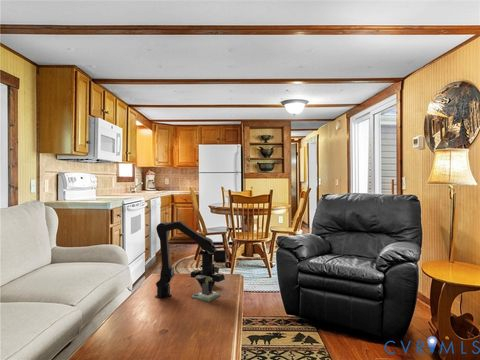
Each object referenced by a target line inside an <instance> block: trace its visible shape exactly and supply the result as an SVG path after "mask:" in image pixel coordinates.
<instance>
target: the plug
mask: <svg viewBox="0 0 480 360" xmlns="http://www.w3.org/2000/svg"><path fill="white" fill-rule="evenodd" d="M201 291H202V294H205V295H210V294H212V293H213V292H214V288H213V289H212V292H211V293H210V292H209V285H208V281H206V282H204V283H202V288H201Z"/></svg>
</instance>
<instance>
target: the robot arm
mask: <svg viewBox="0 0 480 360" xmlns="http://www.w3.org/2000/svg"><path fill="white" fill-rule="evenodd" d="M155 230H156V234H157V237H158V238H159V242H160V243H159V244H160V254H161V255H160V257H161V269H160V276H159V277H160V278H159V279H158V280H157V282H155V286H156V287H157V289H156V290H157V291H156V295H154V297H155V298H159V299H167V298H169V297H171V296H172V295H173V294H171V286H170V284H171V283H170V282H171V281H172V280H173V279H174V277H175V274H176V273H175V266H172V265H171V257H170V256H171V254H170V244H169V236H170V233H171V231H174V230H178V231H180V232H181V233H183V234H184V235H186V236H187V237H188V238H190V239H191V240H193V241H194V242H195V243H196V244H197V245H198V247H200V248H201V249H200V251H199V252H198V253H197V255H199V256H200V255H201V264H200V268H201V269H200V270H199V269H195V270H193V271H191V272H190V274H189V275H190V278H193V279H195V280H196V281H197V282H198V284H199V286H200V288H201V289H202V283H204V282H205V280H206V277H207V278H211V279H210V280H209V281H208V285H209V292H210V293H211V292H212V289H213V290H214V286H215V283H220V282H222V281H224V280H225V275H224V274H222V273H219V271H220V267H217V266H215V263H216V264H227V259H228V255H227V250H226V249H217V248H216V246H215V245H214V241H213V239H211V238H209V237H207V236H204V235H202V234H200V233H198V232H197V231H195V230H194V229H193V228H191V227H190V226H188V225H187V224H186V223H184V222H183V221H181V220H176V221H172V222H171V221H170V222H168V221H163V222H160V223H158V224H157V226H156V228H155ZM213 262H215V263H213ZM201 270H202V271H201ZM213 274H214V275H213Z"/></svg>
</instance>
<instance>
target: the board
mask: <svg viewBox="0 0 480 360" xmlns="http://www.w3.org/2000/svg"><path fill="white" fill-rule="evenodd" d="M218 297H220V293H218V292H217V291H213V293H212V294H210V295H205V294H202V290H200V291H199V292H196V293H194V294H193V295H191V298H192V299H196V300H200V301H205V302H211V301H212V300H214V299H216V298H218Z"/></svg>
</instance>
